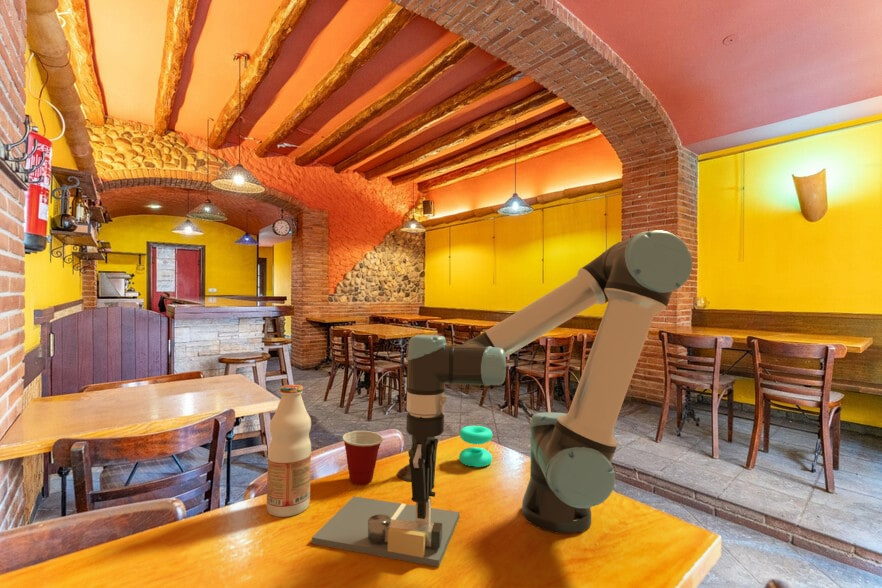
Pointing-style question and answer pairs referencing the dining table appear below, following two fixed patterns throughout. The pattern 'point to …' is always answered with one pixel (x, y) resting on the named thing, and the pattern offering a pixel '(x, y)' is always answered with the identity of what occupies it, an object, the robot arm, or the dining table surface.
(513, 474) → the dining table surface
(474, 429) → the donuts
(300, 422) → the fruit juice
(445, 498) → the dining table surface
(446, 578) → the dining table surface
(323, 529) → the plate
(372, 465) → the plastic cup
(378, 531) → the lock bar
